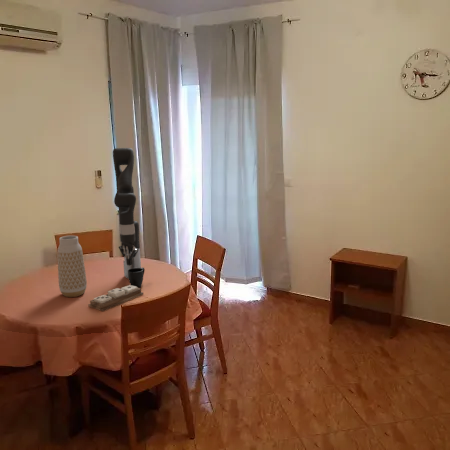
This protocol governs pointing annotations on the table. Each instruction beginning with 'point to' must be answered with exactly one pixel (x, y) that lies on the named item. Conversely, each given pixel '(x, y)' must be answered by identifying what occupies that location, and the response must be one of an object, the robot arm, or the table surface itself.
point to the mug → (136, 276)
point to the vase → (71, 267)
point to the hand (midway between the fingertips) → (129, 265)
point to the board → (115, 300)
